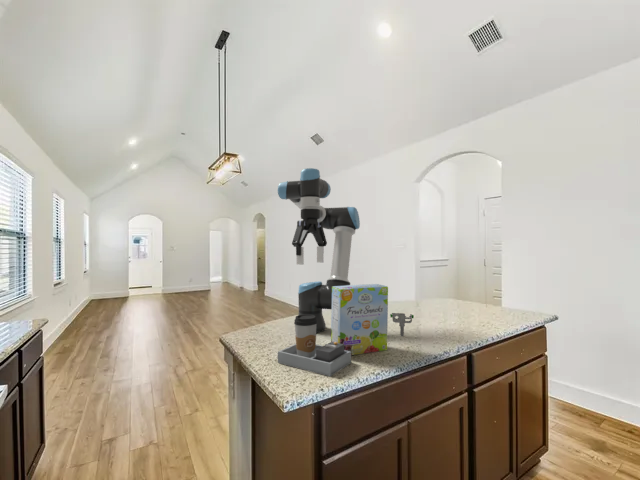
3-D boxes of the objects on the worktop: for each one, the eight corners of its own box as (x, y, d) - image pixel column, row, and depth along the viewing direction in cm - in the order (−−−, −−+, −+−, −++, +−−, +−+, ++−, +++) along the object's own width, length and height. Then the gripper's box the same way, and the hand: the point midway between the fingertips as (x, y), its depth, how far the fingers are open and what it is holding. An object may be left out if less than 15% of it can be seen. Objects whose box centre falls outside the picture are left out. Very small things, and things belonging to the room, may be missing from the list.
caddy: (277, 362, 115) (277, 351, 115) (301, 351, 127) (301, 341, 127) (330, 376, 103) (330, 363, 103) (351, 362, 115) (350, 351, 115)
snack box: (340, 358, 119) (339, 288, 119) (330, 351, 127) (329, 285, 127) (389, 350, 127) (388, 285, 128) (376, 344, 135) (376, 282, 136)
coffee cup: (300, 363, 112) (299, 320, 112) (290, 356, 119) (290, 315, 119) (321, 359, 116) (321, 317, 116) (311, 352, 123) (310, 313, 123)
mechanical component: (413, 337, 145) (413, 315, 145) (390, 336, 147) (390, 314, 147) (413, 335, 148) (413, 313, 148) (390, 334, 150) (390, 312, 150)
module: (316, 367, 108) (316, 347, 108) (331, 358, 117) (331, 340, 117) (329, 370, 105) (329, 350, 106) (344, 361, 114) (344, 342, 114)
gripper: (298, 205, 113) (298, 265, 113) (334, 210, 134) (335, 261, 134) (282, 206, 118) (282, 265, 117) (319, 211, 138) (320, 261, 138)
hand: (310, 263), depth 126 cm, fingers open, 13 cm apart
